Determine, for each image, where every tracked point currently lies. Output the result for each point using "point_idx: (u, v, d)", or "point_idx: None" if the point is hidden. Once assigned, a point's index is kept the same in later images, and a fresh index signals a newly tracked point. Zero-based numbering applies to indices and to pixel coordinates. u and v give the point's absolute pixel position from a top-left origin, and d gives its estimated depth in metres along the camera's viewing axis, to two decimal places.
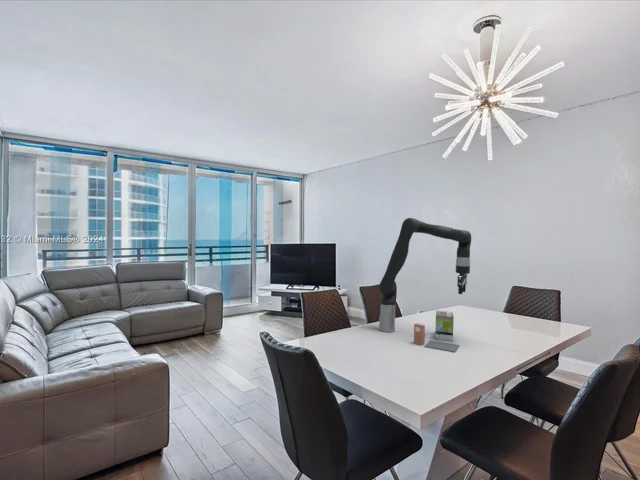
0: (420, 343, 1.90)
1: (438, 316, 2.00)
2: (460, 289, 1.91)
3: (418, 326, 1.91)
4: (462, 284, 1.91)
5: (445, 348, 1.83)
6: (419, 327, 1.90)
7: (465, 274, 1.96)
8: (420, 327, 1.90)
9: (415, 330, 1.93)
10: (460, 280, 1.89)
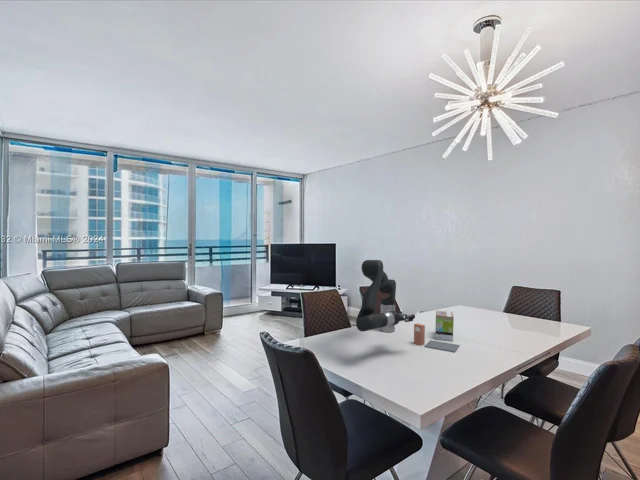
0: (420, 343, 1.90)
1: (438, 316, 2.00)
2: None
3: (418, 326, 1.91)
4: None
5: (445, 348, 1.83)
6: (419, 327, 1.90)
7: None
8: (420, 327, 1.90)
9: (415, 330, 1.93)
10: None
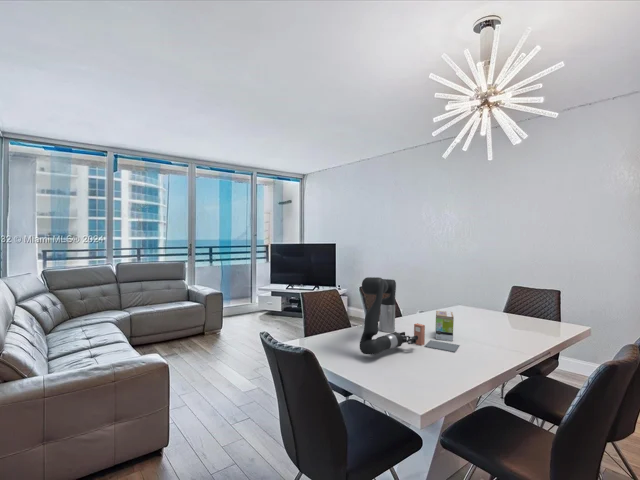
0: (420, 343, 1.90)
1: (438, 316, 2.00)
2: None
3: (418, 326, 1.91)
4: None
5: (445, 348, 1.83)
6: (419, 327, 1.90)
7: None
8: (420, 327, 1.90)
9: (415, 330, 1.93)
10: None
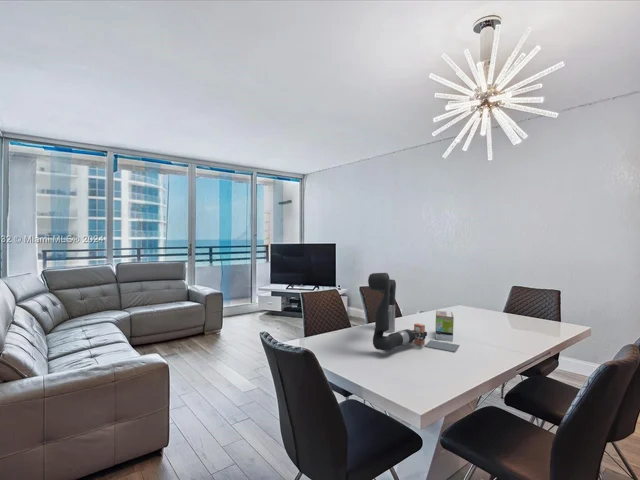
0: (420, 343, 1.90)
1: (438, 316, 2.00)
2: None
3: (418, 326, 1.91)
4: None
5: (445, 348, 1.83)
6: (419, 327, 1.90)
7: (414, 339, 1.85)
8: (420, 327, 1.90)
9: (415, 330, 1.93)
10: None
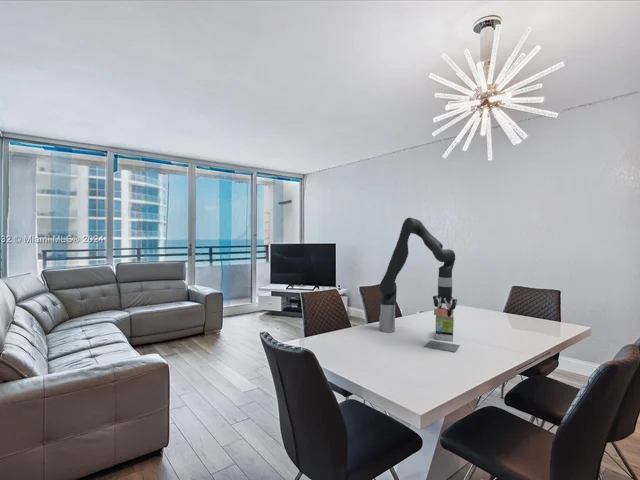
0: (442, 310, 1.83)
1: (438, 316, 2.00)
2: None
3: None
4: (438, 305, 1.90)
5: (445, 348, 1.83)
6: None
7: (448, 296, 1.85)
8: None
9: (443, 307, 1.90)
10: None
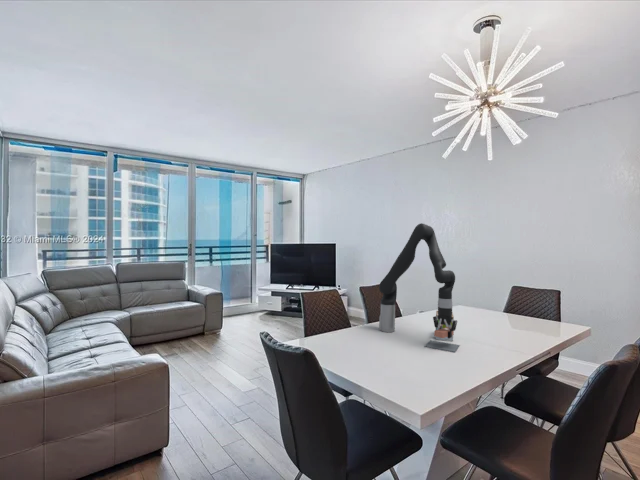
0: (442, 332, 1.83)
1: None
2: None
3: None
4: (438, 325, 1.90)
5: (445, 348, 1.83)
6: None
7: (448, 317, 1.85)
8: None
9: (443, 328, 1.90)
10: None
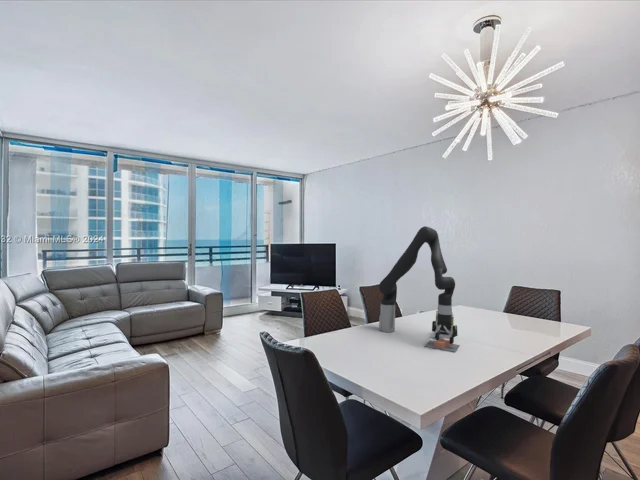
0: (442, 342, 1.83)
1: None
2: None
3: (448, 339, 1.90)
4: (436, 330, 1.91)
5: (445, 348, 1.83)
6: (449, 339, 1.89)
7: (447, 324, 1.85)
8: None
9: (443, 339, 1.90)
10: None
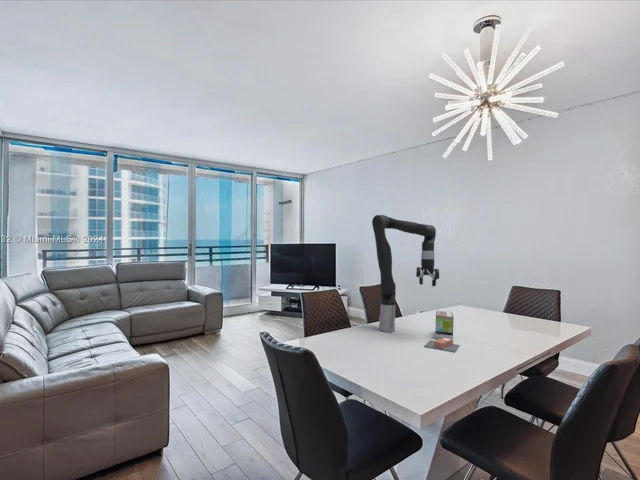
0: (442, 342, 1.83)
1: (438, 316, 2.00)
2: None
3: (448, 339, 1.90)
4: (420, 275, 2.05)
5: (445, 348, 1.83)
6: (449, 339, 1.89)
7: (430, 268, 1.99)
8: (450, 339, 1.89)
9: (443, 339, 1.90)
10: None
